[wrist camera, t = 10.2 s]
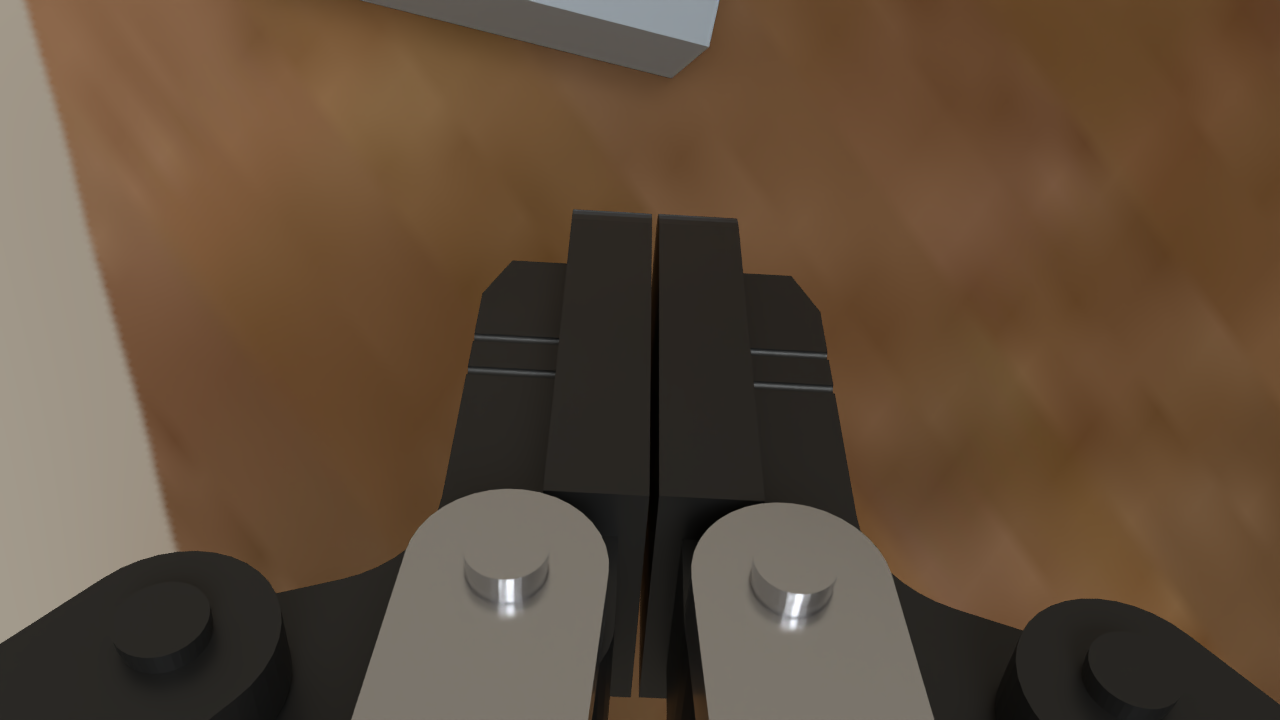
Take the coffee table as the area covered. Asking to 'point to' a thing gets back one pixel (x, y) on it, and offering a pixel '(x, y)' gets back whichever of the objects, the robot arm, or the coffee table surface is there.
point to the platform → (589, 26)
